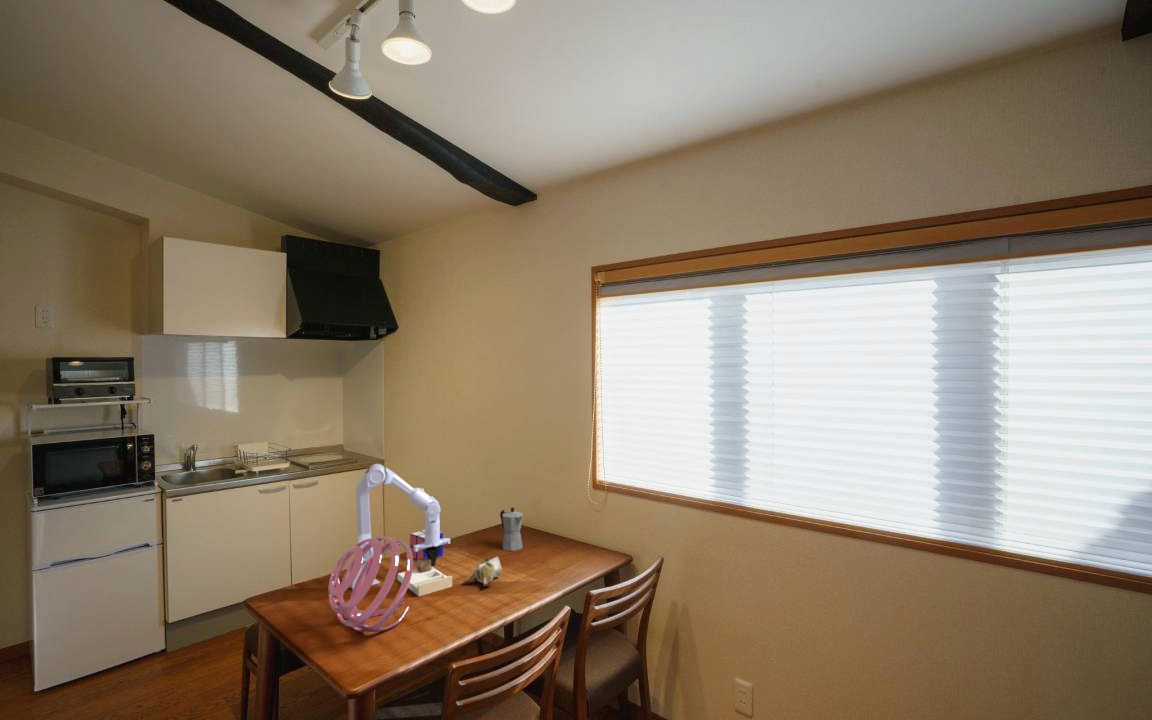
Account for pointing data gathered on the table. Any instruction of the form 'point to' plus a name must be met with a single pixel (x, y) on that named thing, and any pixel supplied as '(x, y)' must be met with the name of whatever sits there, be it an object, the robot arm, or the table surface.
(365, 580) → the spiral basket
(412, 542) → the puzzle cube
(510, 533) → the coffeepot
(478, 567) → the ceramic sculpture
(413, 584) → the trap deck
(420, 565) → the walnut block
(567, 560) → the table surface
